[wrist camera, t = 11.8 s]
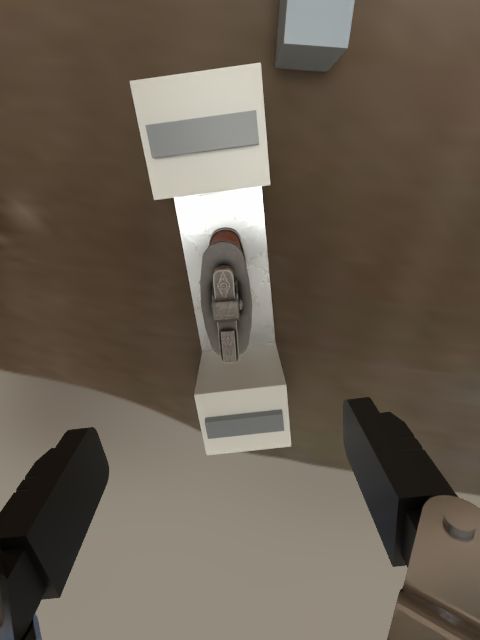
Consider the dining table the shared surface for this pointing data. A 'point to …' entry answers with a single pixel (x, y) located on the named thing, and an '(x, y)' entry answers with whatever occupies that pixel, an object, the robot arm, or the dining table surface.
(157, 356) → the dining table surface
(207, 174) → the mounted modules
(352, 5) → the block
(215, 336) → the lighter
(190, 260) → the rail
